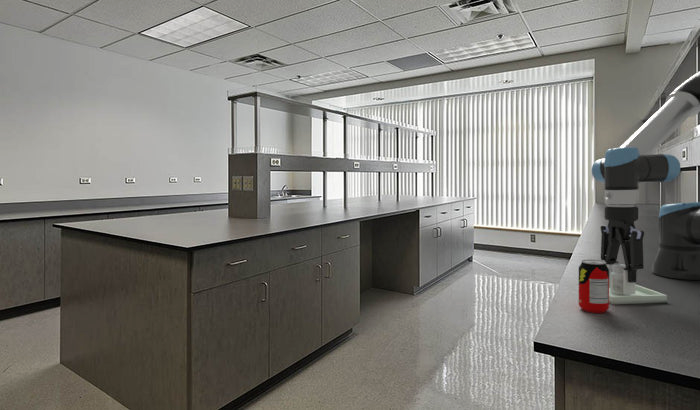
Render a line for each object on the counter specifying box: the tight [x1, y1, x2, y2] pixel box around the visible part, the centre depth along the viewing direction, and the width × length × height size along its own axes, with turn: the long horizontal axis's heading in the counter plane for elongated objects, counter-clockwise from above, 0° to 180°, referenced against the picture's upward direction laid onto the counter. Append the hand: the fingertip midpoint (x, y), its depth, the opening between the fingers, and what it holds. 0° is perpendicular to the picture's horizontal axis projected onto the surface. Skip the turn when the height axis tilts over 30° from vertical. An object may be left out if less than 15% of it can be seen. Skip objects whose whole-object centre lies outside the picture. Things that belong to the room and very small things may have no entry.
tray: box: [609, 284, 668, 305], centre depth 108 cm, size 14×14×2 cm
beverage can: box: [578, 259, 610, 314], centre depth 97 cm, size 6×6×12 cm
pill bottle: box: [610, 263, 629, 295], centre depth 108 cm, size 4×4×8 cm
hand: (620, 290), depth 108 cm, fingers open, 6 cm apart
